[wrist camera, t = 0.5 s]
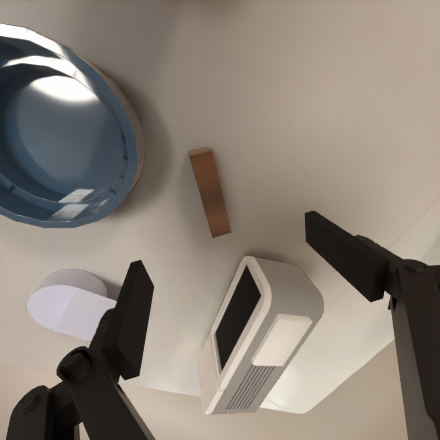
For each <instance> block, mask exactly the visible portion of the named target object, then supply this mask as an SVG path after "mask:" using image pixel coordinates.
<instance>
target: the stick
mask: <svg viewBox="0 0 440 440" xmlns="http://www.w3.org/2000/svg"><path fill="white" fill-rule="evenodd" d="M188 153H189V157H190V160H191V164H192V167H193V171H194V174H195V178H196V181H197V185H198V188H199V192H200V195H201V199H202V202H203V206H204V209H205V213H206V216H207V220H208V223H209V227H210V230H211V234H212V237H213V238H214V237H217V236H220V235H224V234H227V233H231V230H230V226H229V222H228V217H227V213H226V209H225V205H224V200H223V196H222V192H221V188H220V183H219V179H218V175H217V170H216V166H215V162H214V158H213V153H212V150H211V149H209V148H208V147H204V148H200V149H197V150H193V151H189V152H188Z"/></svg>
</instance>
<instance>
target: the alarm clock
mask: <svg viewBox="0 0 440 440" xmlns="http://www.w3.org/2000/svg"><path fill="white" fill-rule="evenodd" d="M323 312H324V301H323V297H322V295H321V293H320V292H319V290H318V289H317V288H316V287H315V285H314V284H313V283H312V282H311V280H310V279H309V278H308V277H307V276H306V274H305V273H304V272H303V271H302V270H301V268H300V267H298V266H297V265H293V264H288V263H283V262H278V261H273V260H268V259H263V258H258V257H252V256H246V257H244V258H243V259H242V261H241V263H240V265H239V267H238V270H237V272H236V274H235V276H234V279H233V281H232V283H231V285H230V288H229V290H228V292H227V295H226V297H225V299H224V301H223V304H222V306H221V308H220V310H219V313H218V315H217V317H216V319H215V322H214V324H213V326H212V329H211V333H210V334H209V335H208V338H207V340H206V342H205V344H204V347H203V349H202V351H201V354H200V358H199V379H200V392H201V404H202V409H203V412H204V413H205V414H226V413H248V412H255V411H257V409H258V408H259V406H260V405H261V404H262V402H263V401H264V399H265V398H266V396H267V395H268V394H269V392H270V391H271V389H272V388H273V386H274V385H275V383H276V382H277V381H278V379H279V378H280V376H281V375H282V373H283V372H284V370H285V369H286V368H287V366H288V365H289V363H290V362H291V360H292V359H293V357H294V356H295V355H296V353H297V352H298V350H299V349H300V347H301V346H302V344H303V343H304V342H305V340H306V339H307V337H308V336H309V334H310V333H311V331H312V330H313V329H314V327H315V326H316V324H317V323H318V321H319V320H320V318H321V317H322V314H323Z"/></svg>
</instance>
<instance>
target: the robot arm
mask: <svg viewBox="0 0 440 440" xmlns="http://www.w3.org/2000/svg"><path fill="white" fill-rule="evenodd" d="M305 230H306V242H307V243H308V244H309V245H310V246H311V247H312V248H313V249H314V250H315V251H316V252H317V253H318V254H319V255H320V256H322V257H323V258H324V259H325V260H326V261H327V262H328V263H329V264H330V265H331V266H332V267H333V268H334V269H335V270H336V271H338V272H339V273H340V274H341V275H342V276H343V277H344V278H345V279H346V280H347V281H348V282H349V283H350V284H351V285H352V286H353V287H355V288H356V289H357V290H358V291H359V292H360V293H361V294H362V295H363V296H364V297H365V298H366V299H367V300H368V301H369V302H373V301H376V300H380V299H383V296H384V291H386V292H387V293H388V294H390V295H391V297H390V301H389V306H388V310H390V309H391V313H392V320H393V328H394V336H395V342H396V351H397V357H398V365H399V373H400V381H401V388H402V396H403V403H404V411H405V419H406V426H407V434H408V440H440V265H433V266H428V265H426V264H425V263H423V262H420V261H417V260H412V259H405V260H403V259H402V258H400V257H398V256H397V255H395V254H393V253H392V252H390V251H388V250H387V249H385V248H383V247H381V246H380V245H378V244H377V243H375V242H374V241H372V240H370V239H369V238H367V237H363V236H360V235H356V236H353V235H351V234H350V233H348V232H346V231H345V230H343V229H342V228H340V227H339V226H337V225H336V224H334V223H333V222H331V221H329V220H328V219H326V218H325V217H323V216H322V215H320V214H319V213H317V212H316V211H310V212H307V213H305ZM153 290H154V285H153V283H152V281H151V279H150V277H149V275H148V273H147V271H146V269H145V267H144V265H143V263H142V261H141V260H139V261H135V262H132V263H131V264H130V267H129V269H128V272H127V275H126V278H125V280H124V283H123V286H122V289H121V291H120V294H119V297H118V300H117V302H116V305H115V308H112V309H108V310H107V311H106V312H105V314H104V315H103V316H102V317H101V319H100V322H99V324H98V327H97V329H96V332H95V334H94V336H93V339H92V341H91V344H90V346H89V349H88V348H87V347H86V346H81V347H78V348H75V349H74V350H72V351H71V352H69V353H68V354H67V355H66V356H65V357H64V358H63V359H62V361H61V362H60V363H59V365H58V368H57V376H59V378H61V379H62V380H63V381H62V382H61V383H59V384H57V385H56V386H54V387H52V388H51V389H49V388H47V387H46V386H44V385H42V386H38V387H36V388H34V389H32V390H31V391H29V392H28V393H27V394H26V395H25V396H24V397H23V398H22V399H21V400H20V401H19V402H18V404H17V405H16V407H15V408H14V410H13V412H12V414H11V417H10V422H9V427H8V432H7V437H6V440H80V434H79V424H80V423H81V422H83V424H84V427H85V429H86V432H87V434H88V436H89V439H90V440H155V438H154V436H153V435H152V433H151V432H150V430H149V429H148V427H147V426H146V424H145V423H144V421H143V420H142V418H141V417H140V415H139V414H138V412H137V411H136V409H135V408H134V406H133V405H132V403H131V402H130V400H129V399H128V397H127V396H126V394H125V393H124V391H123V390H122V388H121V387H120V385H119V384H118V381H119V377H120V375H121V376H122V378H123V379H124V380H128V379H131V378H134V377H137V376H139V375H140V369H141V363H142V357H143V351H144V345H145V339H146V333H147V327H148V320H149V314H150V308H151V302H152V296H153Z"/></svg>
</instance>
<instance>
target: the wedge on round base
mask: <svg viewBox="0 0 440 440" xmlns="http://www.w3.org/2000/svg"><path fill="white" fill-rule="evenodd" d="M106 297H107V289H106V287H105V285H104V283H103V282H102V281H101V280H100V279H99V278H98V277H96V276H95V275H93V274H91V273H89V272H86V271H82V270H77V269H65V270H60V271H57V272H54V273H52V274H51V275H49V276H48V277H47V278H46V279H45V280H44V281H43V282H42V284H41V285H40V286H39V287H38V288H37V289H36V291H35V292H34V293H33V294H32V295H31V296H30V298H29V300H28V302H27V311H28V313H29V315H30V317H31V318H32V319H33V320H34V321H35V322H36V323H38V324H39V325H41V326H43V327H45V328H48V329H51V330H52V331H53V332H57V333H61V334H65V335H69V336H73V337H77V338H81V339H85V340H89V341H92V339H93V336H94V334H95V332H96V329H97V327H98V324H99V322H100V319H101V317H102V316H103V315H104V314H105V312H106V311H107V310H108V309H112V308H115V305H116V302H117V301H115V300H112V299H109V298H106Z"/></svg>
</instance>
